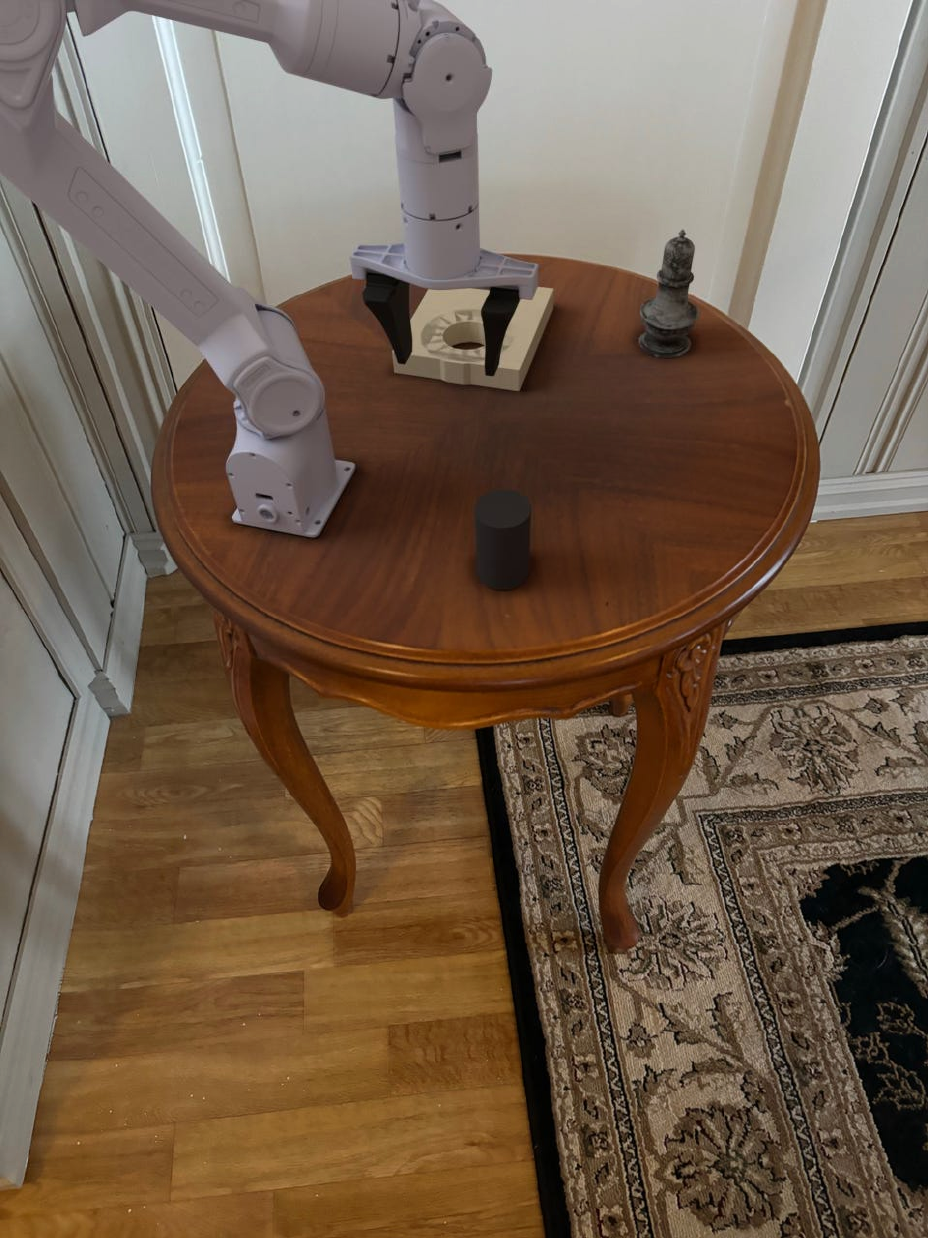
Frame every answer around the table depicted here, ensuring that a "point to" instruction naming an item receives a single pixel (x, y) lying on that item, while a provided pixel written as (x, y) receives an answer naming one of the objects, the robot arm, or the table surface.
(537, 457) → the table surface
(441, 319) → the back plate
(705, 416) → the table surface
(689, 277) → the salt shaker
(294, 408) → the robot arm
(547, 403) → the table surface
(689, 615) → the table surface
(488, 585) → the dark grey cylinder
